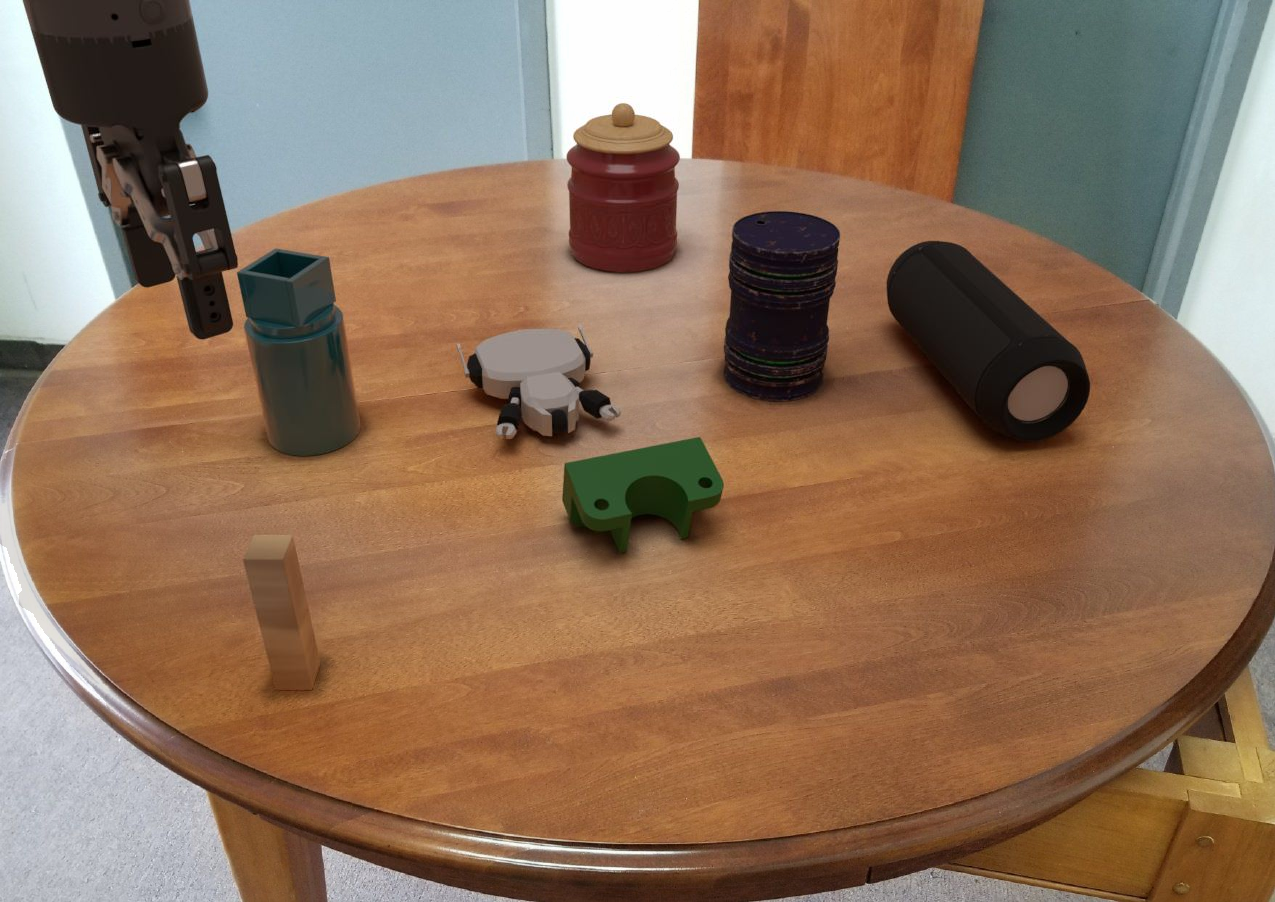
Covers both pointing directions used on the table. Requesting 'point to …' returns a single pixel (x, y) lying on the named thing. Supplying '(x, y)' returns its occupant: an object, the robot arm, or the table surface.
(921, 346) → the portable speaker
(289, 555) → the stick
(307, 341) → the bottle
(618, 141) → the kitchen canister
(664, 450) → the clamp
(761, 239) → the dark blue cylinder
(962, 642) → the table surface
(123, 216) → the robot arm
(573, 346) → the robot toy
